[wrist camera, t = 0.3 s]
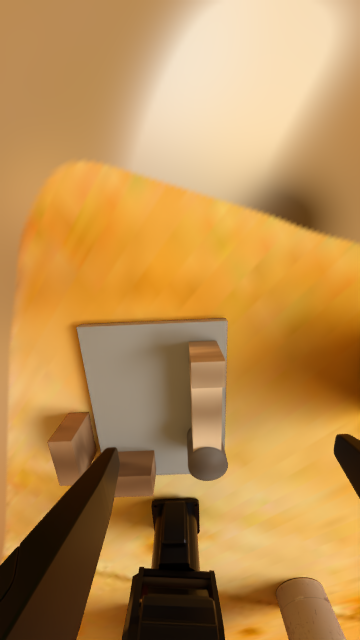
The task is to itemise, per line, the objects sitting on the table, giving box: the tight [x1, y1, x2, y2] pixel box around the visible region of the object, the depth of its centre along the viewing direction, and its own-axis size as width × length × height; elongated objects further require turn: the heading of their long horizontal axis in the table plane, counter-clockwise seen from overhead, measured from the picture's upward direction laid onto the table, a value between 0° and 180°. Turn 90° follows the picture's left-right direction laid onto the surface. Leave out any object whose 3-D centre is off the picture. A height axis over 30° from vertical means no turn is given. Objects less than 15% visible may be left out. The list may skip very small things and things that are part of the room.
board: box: [76, 318, 227, 475], centre depth 23 cm, size 20×15×1 cm
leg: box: [187, 341, 228, 481], centre depth 20 cm, size 14×4×4 cm, turn 3°
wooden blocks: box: [48, 412, 156, 497], centre depth 23 cm, size 8×10×4 cm
